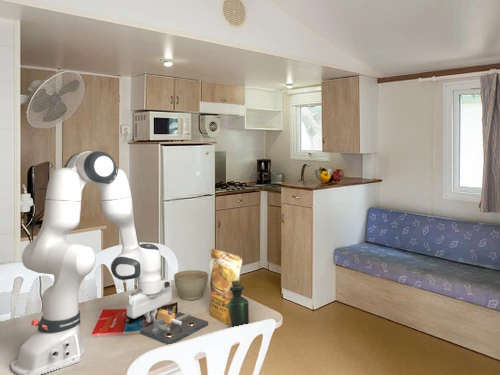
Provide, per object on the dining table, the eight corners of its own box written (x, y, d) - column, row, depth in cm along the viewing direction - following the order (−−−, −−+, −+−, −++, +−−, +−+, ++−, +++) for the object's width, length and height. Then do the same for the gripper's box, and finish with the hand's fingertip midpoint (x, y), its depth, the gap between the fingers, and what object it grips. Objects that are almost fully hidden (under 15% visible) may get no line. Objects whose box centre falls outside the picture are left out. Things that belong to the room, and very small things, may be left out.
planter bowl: (215, 297, 196) (215, 275, 195) (187, 306, 185) (186, 282, 184) (195, 288, 207) (195, 267, 206) (167, 296, 196) (167, 274, 195)
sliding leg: (178, 329, 156) (178, 316, 156) (156, 322, 163) (156, 309, 163) (184, 327, 159) (184, 313, 158) (162, 319, 166) (162, 306, 165)
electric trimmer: (159, 313, 177) (159, 306, 177) (129, 325, 165) (129, 317, 165) (154, 311, 179) (154, 304, 179) (123, 322, 167) (123, 315, 167)
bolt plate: (169, 345, 148) (169, 329, 147) (140, 333, 157) (139, 318, 156) (208, 325, 165) (208, 310, 164) (179, 315, 174) (179, 302, 174)
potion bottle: (253, 325, 163) (248, 279, 166) (247, 329, 155) (243, 280, 158) (233, 326, 165) (229, 280, 168) (227, 330, 157) (223, 282, 160)
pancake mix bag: (215, 309, 182) (215, 246, 179) (243, 323, 168) (244, 255, 165) (203, 313, 177) (202, 249, 175) (230, 327, 163) (231, 258, 160)
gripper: (134, 296, 147) (135, 333, 148) (174, 280, 164) (175, 313, 165) (122, 292, 150) (123, 328, 152) (163, 277, 167) (163, 310, 169)
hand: (150, 320), depth 159 cm, fingers closed
